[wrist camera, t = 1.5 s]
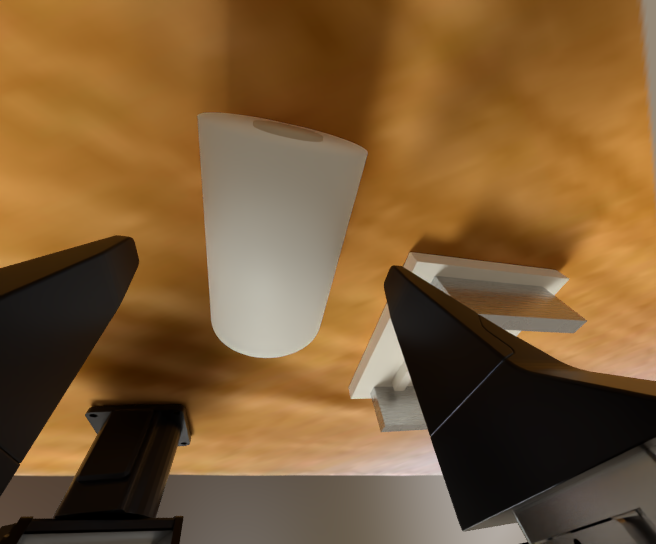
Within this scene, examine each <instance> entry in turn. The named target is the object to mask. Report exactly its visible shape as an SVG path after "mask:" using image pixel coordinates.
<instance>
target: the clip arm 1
mask: <svg viewBox="0 0 656 544" xmlns="http://www.w3.org/2000/svg"><path fill="white" fill-rule="evenodd" d="M370 394H371V398H372V402H373V405H374V409H375V412H376V416H377V420H378V423H379V427H380V430H381V432H391V431H408V430H426V429H427V426H426V423H425V420H424V417H423V414H422V411H421V408H420V405H419V402H418V399H417V396H416V393H415V390H414V387H413V386H407V387H406V388H405V390H404V391H394V388H393V387H373V389H372V391H371V393H370Z"/></svg>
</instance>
